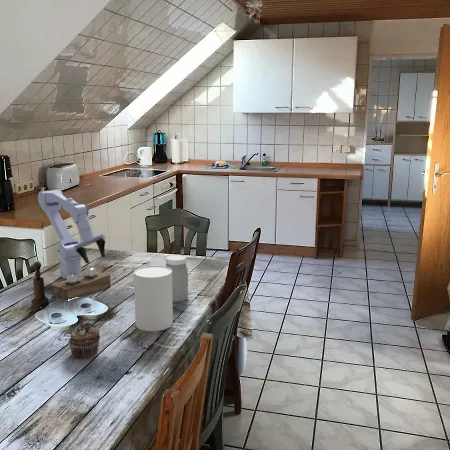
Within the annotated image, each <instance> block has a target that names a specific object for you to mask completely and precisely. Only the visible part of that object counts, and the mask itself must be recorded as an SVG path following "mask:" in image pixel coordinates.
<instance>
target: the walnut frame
mask: <svg viewBox="0 0 450 450" xmlns="http://www.w3.org/2000/svg"><path fill="white" fill-rule="evenodd" d="M111 284H112V283H111V274H109V273H105V272H100V271H97V270H96V277H95V278H93V279H88V278H86V273H83V275H80V276H78V284H76V285H73V286H71V285H67V279H65V280H63V281H60V282H57V283H54V284H52V285H51V287H52V289H51V291H52V297H53V296H55V297H54V298H56V297H58V298H57V299H59V298H61V300H63V299H64V300H63V301H66V300H68V299H72V298H75V297H79V298H82V297H84V296H87V295H89V294H92V293H95V292H97V291H100V290H102V289H105V288H109V287H111Z"/></svg>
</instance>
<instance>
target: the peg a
mask: <svg viewBox="0 0 450 450" xmlns="http://www.w3.org/2000/svg"><path fill="white" fill-rule="evenodd" d="M66 280H67V285H71V286H73V285H76V284H78V274H76V273H71V274H67V279H66Z"/></svg>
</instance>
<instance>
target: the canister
mask: <svg viewBox="0 0 450 450" xmlns="http://www.w3.org/2000/svg"><path fill="white" fill-rule="evenodd" d="M133 284H134V285H133V286H134V287H133V288H134V315H135V318H134V319H135V326H136V328H137V329H139V330H141V331H146V332H159V331H163V330H167V329H168V328H170V327H171V326H173V323H174V321H173V319H174V317H173V313H174V312H173V310H174V309H173V303H172V269H171V268H169V267H166V265H158V264H157V265H156V264H155V265H146V266H145V265H144V266H140V267H138V268H135V270H134V271H133Z"/></svg>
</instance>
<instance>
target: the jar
mask: <svg viewBox="0 0 450 450" xmlns="http://www.w3.org/2000/svg"><path fill="white" fill-rule="evenodd" d="M165 267H169V268H171V269H172V304H177V303H178V304H179V303H184V302H186V301H187V299H188V297H189V276H188V275H189V273H188V272H189V267H188V266H187V257H186V256H185V255H182V254H171V255H170V254H169V255H168V256H166V257H165Z"/></svg>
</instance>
